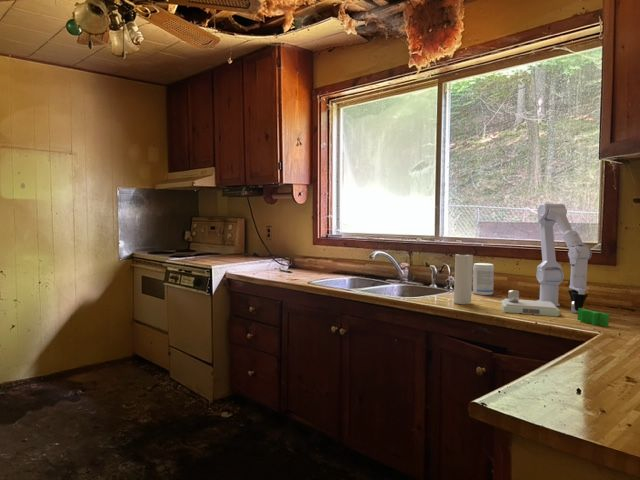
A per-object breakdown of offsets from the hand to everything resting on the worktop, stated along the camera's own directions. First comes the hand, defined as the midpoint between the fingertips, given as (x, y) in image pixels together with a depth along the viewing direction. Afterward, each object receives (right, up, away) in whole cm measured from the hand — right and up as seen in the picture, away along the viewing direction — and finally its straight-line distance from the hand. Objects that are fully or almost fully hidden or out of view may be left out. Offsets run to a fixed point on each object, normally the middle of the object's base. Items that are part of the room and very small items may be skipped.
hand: (576, 309), depth 189 cm
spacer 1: (-24, +2, +4) cm, 24 cm away
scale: (-18, -1, +3) cm, 18 cm away
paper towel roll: (-41, 0, +15) cm, 44 cm away
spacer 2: (0, -1, 0) cm, 2 cm away
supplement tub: (-23, +1, +41) cm, 47 cm away
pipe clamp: (-5, -3, -17) cm, 18 cm away
